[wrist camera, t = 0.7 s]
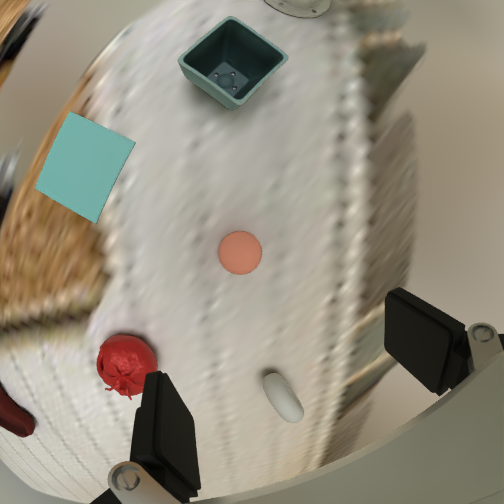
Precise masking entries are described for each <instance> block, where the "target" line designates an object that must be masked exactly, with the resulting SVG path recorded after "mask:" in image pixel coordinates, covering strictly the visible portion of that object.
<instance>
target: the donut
mask: <svg viewBox="0 0 504 504" xmlns="http://www.w3.org/2000/svg"><path fill="white" fill-rule="evenodd" d="M263 388H264V391H265V393H266V395H267V397H268V399H269V401H270V403H271V404H272V406H273V407H274V409H275V410H276V411H277V413H278V414H279V415H280V416H281V417H282V418H283V419H284V420H285V421H287V422H290V423H297V422H299V421H300V420H301V419H302V418H303V416H304V410H303V407H302V405H301V403H300V401H299V400H298V398H297V396H296V395H295V393H294V392H293V390H292V389H291V387H290V386H289V384H288V383H287V382H286V381H285V379H284V378H283V377H282V376H281V375H279V374H277V373H271V374H268V375H267V376H265V378H264V380H263Z"/></svg>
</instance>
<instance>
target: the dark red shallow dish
mask: <svg viewBox="0 0 504 504" xmlns="http://www.w3.org/2000/svg"><path fill="white" fill-rule="evenodd" d="M0 426H1V427H3V428H5V429H6V430H8V431H10V432H12V433H14V434H16V435H18V436H20V437H27V436H29V435H32V434H33V432H34V429H35V424H34V421H33V419H32V417H31V415H30V414H28V413H27V412H25V411H23V410H22V409H20V408H19V407H18V406H17V405H16V404H15V403H14V401H13V400H12V399H11V398H10V397H9V396H8V395H7V394H5V393H4V392H3V390H2V389H1V387H0Z"/></svg>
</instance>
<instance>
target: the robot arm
mask: <svg viewBox="0 0 504 504" xmlns="http://www.w3.org/2000/svg"><path fill="white" fill-rule="evenodd" d="M265 1H266V2H267V3H268V4H270V5H271V6H272V7H274V8H276V9H277V10H279V11H282V12H284V13H286V14H289V15H292V16H297V17H304V18H311V17H317V16H320V15H322V14H324V13H325V12H326V11H327V10H328V8H329V7H330V4H331V0H265ZM384 347H385V349H386V351H387V352H388V353H389V354H390V355H391V356H392V357H393V358H394V359H396V360H397V361H398V362H399V363H400V364H401V365H402V366H403V367H404V368H405V369H407V370H408V371H409V372H410V373H411V374H412V375H413V376H414V377H415V378H416V379H418V380H419V381H420V382H421V383H422V384H423V385H424V386H425V387H426V388H427V389H428V390H429V391H430V392H432V393H436V394H437V395H438V396H441V395H442V394H443V393H444V392H446V391H447V390H448V388H450V389H451V391H450V392H448V393H447V394H446V395H445V396H444V397H442V398H441V399H440V400H438V401H437V402H436V403H434V404H433V405H432V406H430V407H429V408H428V409H426V410H425V411H423V412H422V413H420V414H419V415H417V416H416V417H415V418H413V419H411V420H410V421H408V422H407V423H405V424H404V425H402V426H401V427H399V428H397V429H396V430H394V431H392V432H391V433H389V434H387V435H386V436H384V437H382V438H381V439H379V440H377V441H375V442H373V443H372V444H370V445H368V446H366V447H364V448H362V449H360V450H358V451H356V452H354V453H352V454H350V455H348V456H346V457H343V458H341V459H339V460H337V461H335V462H332V463H330V464H328V465H325V466H323V467H320V468H318V469H315V470H313V471H310V472H308V473H305V474H302V475H299V476H296V477H294V478H291V479H288V480H284V481H281V482H278V483H275V484H271V485H268V486H264V487H261V488H257V489H253V490H249V491H245V492H241V493H236V494H232V495H227V496H222V497H217V498H211V499H206V500H201V501H195V502H190V500H189V498H191V497H198V493H197V490H200V489H201V482H200V475H199V466H198V457H197V448H196V437H195V425H194V420H193V417H192V415H191V413H190V412H189V410H188V408H187V407H186V405H185V404H184V402H183V400H182V399H181V397H180V395H179V394H178V392H177V390H176V389H175V387H174V385H173V383H172V382H171V380H170V378H169V376H168V375H167V373H162V372H161V371H155V372H150V373H147V374H146V376H145V382H144V388H143V394H142V401H141V407H139V408H137V410H136V414H135V421H134V428H133V435H132V443H131V452H130V461H125V462H121V463H119V464H117V465H115V466H114V467H113V468H112V469H111V471H110V472H109V474H108V485H109V487H110V488H109V489H108V490H106V491H105V492H104V493H103V494H101V495H100V496H99V497H98V498H96V499H95V500H94V501H92V502H91V503H90V504H504V334H498V333H497V331H496V329H495V328H494V327H493V326H491V325H490V324H487V323H476V324H473V325H471V326H470V327H469V329H468V331H465V325H464V324H463V323H461V322H459V321H458V320H456V319H454V318H453V317H451V316H449V315H448V314H446V313H444V312H442V311H441V310H439V309H437V308H436V307H434V306H432V305H431V304H429V303H427V302H425V301H424V300H422V299H420V298H418V297H417V296H415V295H413V294H411V293H410V292H408V291H406V290H404V289H403V288H400V287H398V288H396V289H393V290H391V291H389V292H388V293H387V296H386V297H385V336H384Z"/></svg>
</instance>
